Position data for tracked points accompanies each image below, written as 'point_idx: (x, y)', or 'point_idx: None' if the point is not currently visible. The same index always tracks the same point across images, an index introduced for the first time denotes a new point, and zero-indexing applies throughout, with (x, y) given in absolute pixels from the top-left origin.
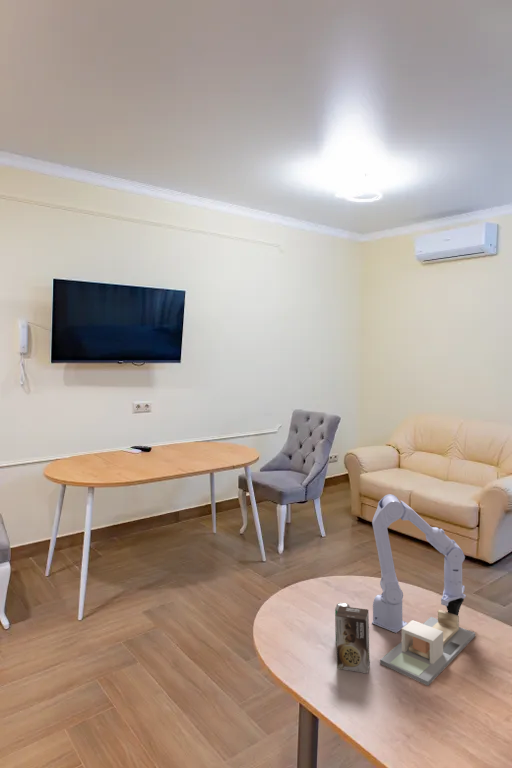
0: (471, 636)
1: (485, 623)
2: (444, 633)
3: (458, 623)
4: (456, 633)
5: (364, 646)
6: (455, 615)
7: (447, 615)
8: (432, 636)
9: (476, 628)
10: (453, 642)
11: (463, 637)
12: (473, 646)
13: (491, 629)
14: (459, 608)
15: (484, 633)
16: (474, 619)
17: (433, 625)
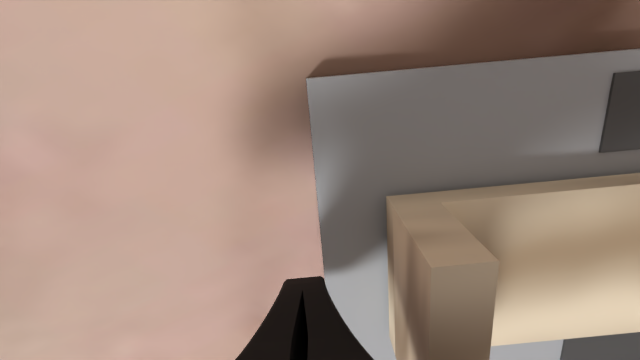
0: (396, 71)
1: (25, 117)
2: (592, 233)
3: (411, 222)
4: (437, 186)
5: None
6: (444, 300)
7: (485, 355)
8: None
9: (174, 131)
10: (604, 132)
11: (462, 114)
12: (475, 9)
13: (70, 26)
14: (257, 351)
15: (193, 41)
16: (55, 210)
17: None
